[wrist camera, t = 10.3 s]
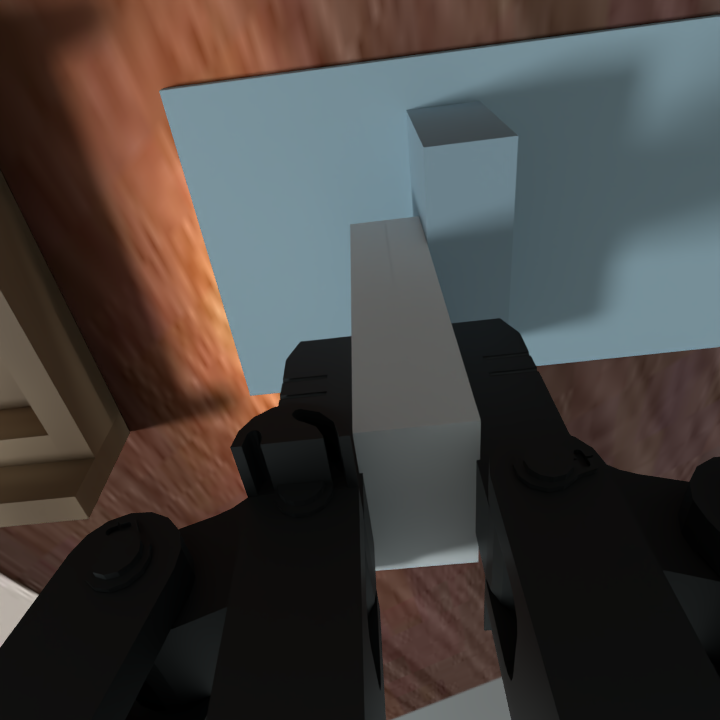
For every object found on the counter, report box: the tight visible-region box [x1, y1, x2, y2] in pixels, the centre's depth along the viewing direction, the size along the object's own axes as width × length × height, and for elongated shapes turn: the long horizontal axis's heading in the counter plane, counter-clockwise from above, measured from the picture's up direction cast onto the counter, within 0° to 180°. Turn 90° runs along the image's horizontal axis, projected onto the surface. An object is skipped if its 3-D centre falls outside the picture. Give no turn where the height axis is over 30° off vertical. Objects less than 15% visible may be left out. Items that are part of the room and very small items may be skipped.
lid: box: [159, 15, 720, 396], centre depth 13 cm, size 14×8×4 cm, turn 96°
